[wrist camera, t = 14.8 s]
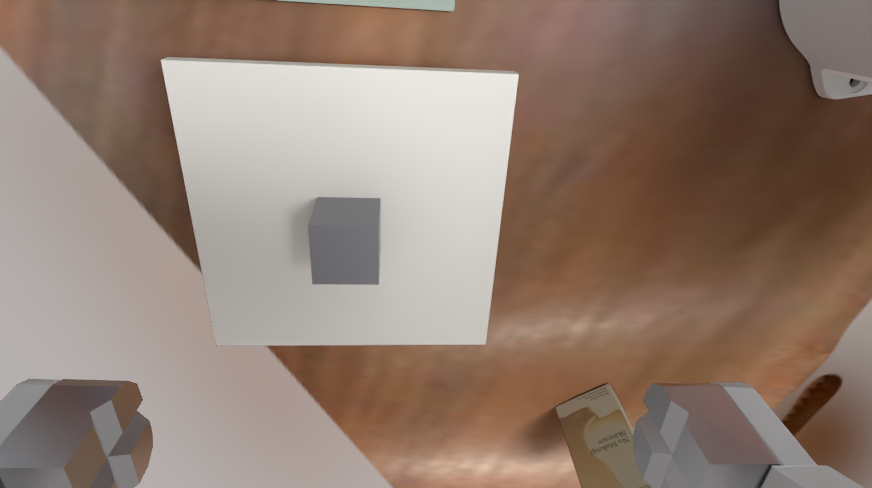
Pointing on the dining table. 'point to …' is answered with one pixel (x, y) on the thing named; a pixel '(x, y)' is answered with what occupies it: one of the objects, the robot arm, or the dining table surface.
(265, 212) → the lid
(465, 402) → the dining table surface
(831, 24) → the robot arm
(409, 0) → the mat
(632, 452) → the skincare box
